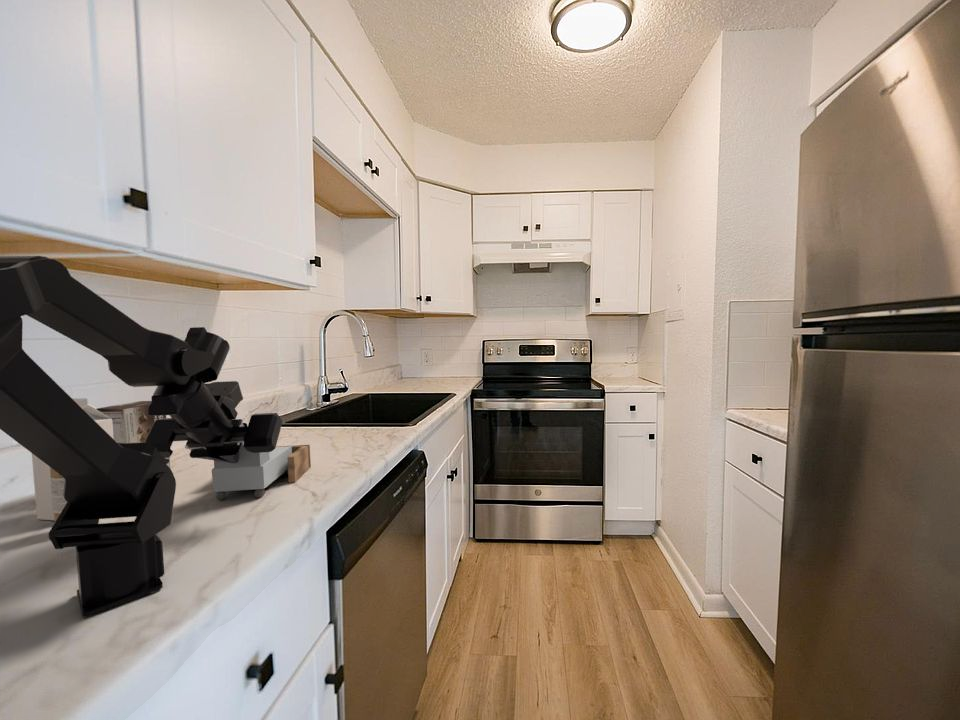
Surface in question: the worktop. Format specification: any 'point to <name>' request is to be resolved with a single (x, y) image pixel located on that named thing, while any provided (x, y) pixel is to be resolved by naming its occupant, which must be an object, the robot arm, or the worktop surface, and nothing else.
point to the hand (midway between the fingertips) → (236, 460)
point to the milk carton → (43, 470)
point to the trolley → (250, 471)
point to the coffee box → (131, 421)
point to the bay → (298, 462)
